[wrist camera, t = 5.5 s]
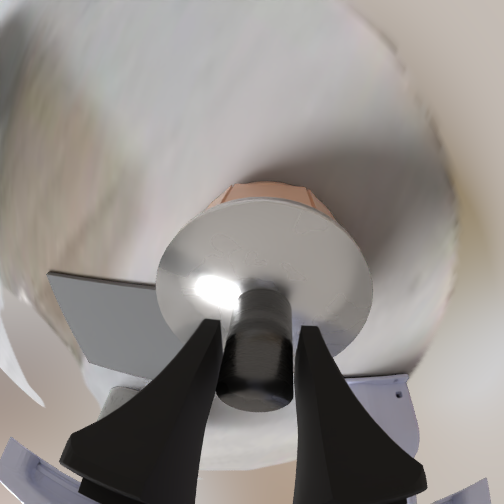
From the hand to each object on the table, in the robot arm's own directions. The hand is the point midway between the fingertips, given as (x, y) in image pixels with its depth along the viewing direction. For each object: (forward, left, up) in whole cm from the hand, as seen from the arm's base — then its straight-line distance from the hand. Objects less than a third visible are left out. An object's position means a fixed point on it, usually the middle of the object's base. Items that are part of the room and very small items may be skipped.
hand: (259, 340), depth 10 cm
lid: (0, 0, -3) cm, 3 cm away
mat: (+12, +9, -7) cm, 16 cm away
